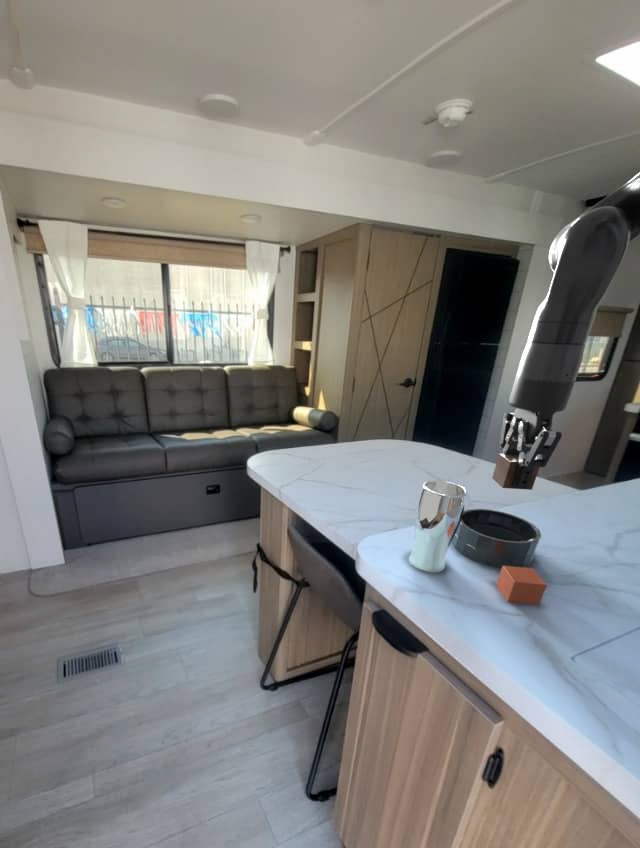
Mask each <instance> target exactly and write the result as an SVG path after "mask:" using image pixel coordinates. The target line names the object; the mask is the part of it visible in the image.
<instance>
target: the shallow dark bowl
mask: <svg viewBox="0 0 640 848" xmlns="http://www.w3.org/2000/svg"><path fill="white" fill-rule="evenodd" d="M541 538H542V534H541V531H540V530H539V528H538V527H537V526H536V525H535V524H533V523H531V522H530V521H528V520H526V519H524V518H521V517H519V516H518V515H515V514H511V513H508V512H504V511H500V510H494V509H486V508H472V509H471V508H470V509H466V510H464V511H463V516H462V519H461V522H460V525H459V527H458V530H457V532H456V534H455V536H454V538H453V540H452V542H451V545H452V546H453V548H454V549H455V550H456V552H459V554H461V556H464V557H466V558H467V559H469V560H471V561H473V562H476V563H478V564H481V565H484V566H488V567H492V568H496V569H502V566H512V567H523V568H527V567H529V565H530V564H531V563H532V561H533V559H534V557H535V554H536V551H537V548H538V545H539V543H540V540H541Z"/></svg>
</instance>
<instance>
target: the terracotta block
mask: <svg viewBox="0 0 640 848" xmlns="http://www.w3.org/2000/svg"><path fill="white" fill-rule="evenodd" d="M495 586H496V587H497V588H498V590H499V591H500V593H501V594H502V596H503V597H504V599H505V600H506V602H507V603H516V604H525V605H526V604H527V605H536V606H539V605H540V603H541V601H542V598H543V596H544V593H545V591H546V589H547V586H548V585H547V584H546V582H545V581H544V580H543V578H541V576H540V575H539V574H538V573H537V571H536V570H535V569H534V568H533V567H512V566H502V568H500V573H499V575H498V579H497V581H496V585H495Z"/></svg>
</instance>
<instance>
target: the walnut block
mask: <svg viewBox="0 0 640 848" xmlns="http://www.w3.org/2000/svg"><path fill="white" fill-rule="evenodd" d="M519 455H520V454H503V453H501V452H499V454H498V456H497V460H496V463H495V467H494V470H493V473H492V477H491V479H492V480H493V481H495V483H497V484H498V485H499V486H500V487H501V488H502V489H512V490H513V489H514V490H516V489H515V488H513V487H512V482H513V479H514V475H515V472H516V469H517V466H519V465H518V462H519ZM528 455H529V454H527V456H528ZM527 456H526V458H527ZM539 470H540V467H537V468H534V470H533V473H532V476H531V479H530V482H529V485H528V488H527V489H526V490H528V491H529V490H530V491H533V488H534V484H535V482H536V479H537V476H538V473H539Z"/></svg>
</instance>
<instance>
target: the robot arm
mask: <svg viewBox="0 0 640 848" xmlns="http://www.w3.org/2000/svg"><path fill="white" fill-rule="evenodd" d="M638 237H640V171H639V172H638V173H636V174H635V175H634V176H633V177H632V178H631V179H630V180H628V181H627V182H626V183H625V184H623V185H622V186H620V187H619V188H617V189H616V190H614V191H613V192H612V193H610V194H608V195H607V196H606V197H604V198H603V199H602V200H600V201H598V202H597V203H595V205H593V206H591V207H590V208H589V209H587V210H586V211H584V212H583V213H581V214H580V215H579V216H577V217H576V218H575V219H573V220H572V221H570V222H569V223H568V224H567V225H566V226H564V227H563V228H562V229H561V230H560V231H559V232H558V233H557V234H556V236H555V237H554V239H553V240H552V243H551V245H550V247H549V251H548V264H549V267H550V269H551V270H552V271H553V275H552V280H551V282H550V286H549V289H548V292H547V295H545V296H546V297H545V298H544V299H543V300H542V302H540V304H539V305H538V308H537V310H536V312H535V314H534V319H533V322H532V325H531V329H530V332H529V335H528V339H527V342H526V344H525V348H524V350H523V351H522V353H521V354H522V355H521V357H520V360H519V363H518V367H517V371H516V374H515V378H514V381H513V385H512V388H511V391H510V395H509V399H508V405H509V406H510V407H512V408H515V410H514V412H505V413H504V415H503V419H502V426H501V430H500V431H501V432H500V436H499V437H500V438H499V444H498V446H499V449H502V453H501V454H520V455H519V462H518V465H519V466H517V469H516V472H515V475H514V479H513V482H512V487H513V488H515V489H514V490H527V488H528V485H529V482H530V479H531V476H532V473H533V470H534V468H537V467H539V468H545V467H546V466H547V464H548V462H549V461H550V459H551V458H552V457H551V456H552V455H553V453H554V452H555V450H556V447H557V446H558V444H559V442H560V441H561V439H562V437H563V436H562V435H563V434H562V432H561V431H555V430H553V429H552V426H553V419H554V415H555V414H556V413H559V412H563V411H565V410H566V409H567V406H568V403H569V400H570V397H571V394H572V393H573V388H574V386H575V383H576V380H577V377H578V374H579V371H580V369H581V367H582V366H581V365H582V362H583V359H584V354H585V349H586V344H587V341H588V339H589V336H590V333H591V331H592V327H593V325H594V323H595V317H596V315H597V311H598V308H599V307H600V304H601V302H602V301H603V299H604V297H605V295H606V294H607V292H608V290H609V287H610V286H611V284H612V282H613V280H614V278H615V276H616V274H617V273H618V270H619V268H620V267H621V264H622V262H623V260H624V257H625V255H626V252H627V249H628V247H629V244H630V243H631V242H632V241H634V240H635V239H637V238H638ZM528 445H530V446H528ZM527 455H528V456H527ZM526 456H527V458H526Z"/></svg>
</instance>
